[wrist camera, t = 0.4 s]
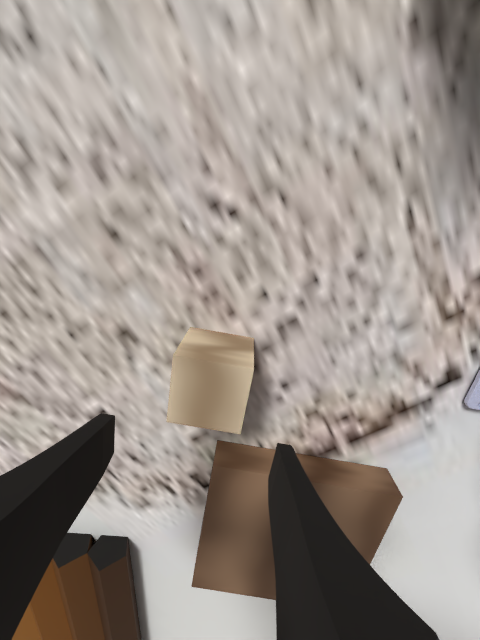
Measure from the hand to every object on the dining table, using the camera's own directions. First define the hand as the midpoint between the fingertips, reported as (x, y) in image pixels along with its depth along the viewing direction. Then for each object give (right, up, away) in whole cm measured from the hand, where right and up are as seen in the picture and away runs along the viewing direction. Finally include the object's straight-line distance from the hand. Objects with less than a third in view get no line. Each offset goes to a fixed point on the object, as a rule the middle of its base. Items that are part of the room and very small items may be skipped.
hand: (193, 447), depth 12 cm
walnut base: (+6, -12, +13) cm, 18 cm away
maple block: (0, +3, +8) cm, 9 cm away
